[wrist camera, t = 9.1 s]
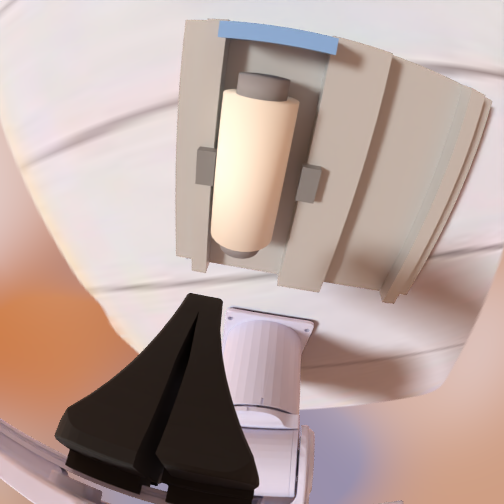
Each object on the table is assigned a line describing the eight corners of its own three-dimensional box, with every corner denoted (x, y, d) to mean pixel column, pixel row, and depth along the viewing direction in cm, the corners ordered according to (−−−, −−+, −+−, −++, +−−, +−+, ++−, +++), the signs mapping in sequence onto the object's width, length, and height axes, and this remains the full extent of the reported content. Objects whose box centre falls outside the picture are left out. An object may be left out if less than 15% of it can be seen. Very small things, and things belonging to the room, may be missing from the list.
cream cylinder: (275, 238, 20) (258, 273, 17) (223, 222, 20) (199, 253, 18) (309, 81, 14) (294, 86, 11) (242, 69, 14) (212, 72, 11)
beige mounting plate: (402, 282, 23) (415, 323, 20) (182, 243, 23) (163, 284, 20) (480, 95, 13) (520, 114, 10) (193, 21, 13) (164, 15, 10)
